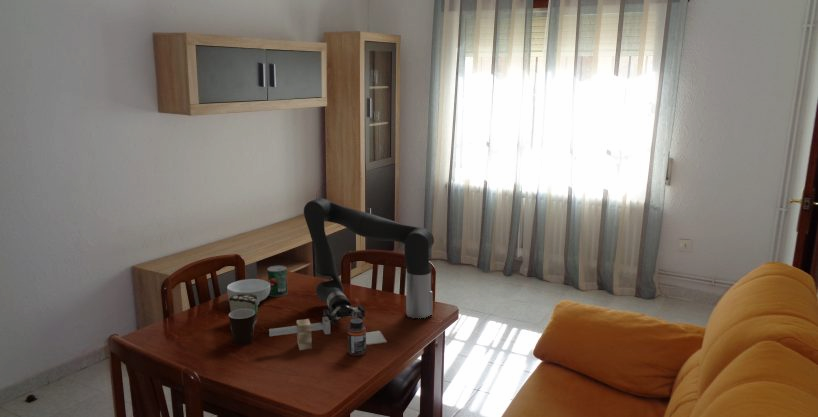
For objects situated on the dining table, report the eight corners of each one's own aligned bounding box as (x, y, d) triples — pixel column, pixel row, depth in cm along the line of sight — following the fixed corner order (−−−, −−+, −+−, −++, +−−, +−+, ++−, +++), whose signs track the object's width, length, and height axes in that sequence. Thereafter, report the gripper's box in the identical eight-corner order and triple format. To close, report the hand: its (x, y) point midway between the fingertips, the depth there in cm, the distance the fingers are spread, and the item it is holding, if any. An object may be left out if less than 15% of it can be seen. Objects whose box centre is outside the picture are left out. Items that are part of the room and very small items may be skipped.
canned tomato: (264, 295, 247) (263, 269, 245) (275, 289, 254) (274, 264, 252) (280, 297, 244) (279, 272, 242) (291, 291, 251) (290, 266, 249)
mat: (379, 331, 212) (379, 330, 212) (386, 342, 204) (386, 341, 204) (354, 335, 209) (354, 334, 209) (361, 345, 201) (360, 344, 201)
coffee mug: (249, 347, 199) (247, 319, 197) (225, 345, 201) (223, 317, 199) (264, 333, 210) (263, 306, 208) (241, 331, 212) (240, 304, 210)
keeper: (309, 342, 203) (308, 318, 201) (311, 348, 198) (310, 324, 197) (297, 344, 202) (296, 320, 200) (299, 350, 197) (298, 326, 195)
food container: (267, 320, 222) (265, 294, 220) (257, 326, 216) (256, 300, 214) (238, 315, 226) (237, 290, 224) (228, 321, 220) (227, 296, 218)
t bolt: (327, 328, 204) (327, 316, 203) (330, 333, 200) (330, 321, 199) (268, 336, 198) (268, 323, 197) (270, 341, 194) (269, 329, 193)
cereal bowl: (279, 299, 242) (279, 283, 241) (248, 312, 229) (247, 295, 227) (250, 291, 251) (249, 275, 250) (218, 303, 238) (217, 287, 236)
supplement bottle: (348, 348, 198) (347, 317, 196) (365, 348, 199) (365, 316, 197) (347, 357, 193) (347, 324, 190) (366, 356, 193) (365, 323, 191)
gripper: (319, 296, 217) (327, 313, 202) (357, 292, 221) (368, 308, 206) (319, 316, 219) (328, 333, 204) (357, 311, 223) (368, 328, 208)
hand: (348, 320), depth 205 cm, fingers open, 8 cm apart
